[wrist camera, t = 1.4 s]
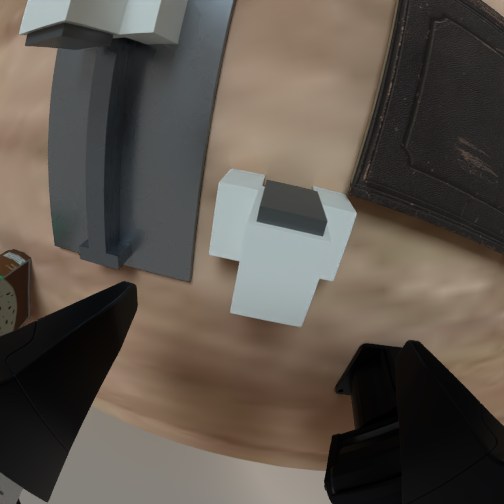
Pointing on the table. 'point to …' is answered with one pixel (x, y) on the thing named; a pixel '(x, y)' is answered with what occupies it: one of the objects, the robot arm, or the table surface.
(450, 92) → the hardcover book
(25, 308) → the food container
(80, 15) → the block
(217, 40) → the rail
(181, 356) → the table surface
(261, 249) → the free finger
